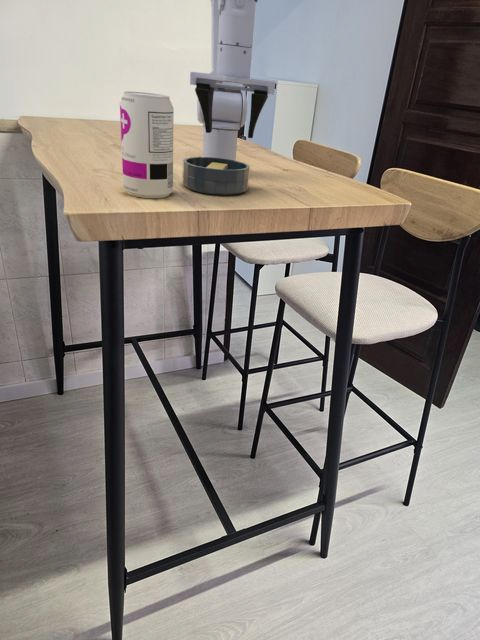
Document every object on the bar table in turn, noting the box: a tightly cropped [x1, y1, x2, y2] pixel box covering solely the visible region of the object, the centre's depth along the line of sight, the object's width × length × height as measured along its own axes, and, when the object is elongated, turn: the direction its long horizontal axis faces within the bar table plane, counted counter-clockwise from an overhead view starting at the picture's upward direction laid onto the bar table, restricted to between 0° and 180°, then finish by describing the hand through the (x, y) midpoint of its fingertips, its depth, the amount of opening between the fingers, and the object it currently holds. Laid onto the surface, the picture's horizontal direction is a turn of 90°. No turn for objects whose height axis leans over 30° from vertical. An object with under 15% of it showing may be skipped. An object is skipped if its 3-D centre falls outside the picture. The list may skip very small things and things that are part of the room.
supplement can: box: [119, 90, 175, 199], centre depth 77 cm, size 8×8×15 cm
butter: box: [206, 162, 228, 170], centre depth 89 cm, size 7×3×4 cm, turn 173°
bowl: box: [181, 156, 251, 196], centre depth 89 cm, size 12×12×4 cm
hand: (229, 134), depth 86 cm, fingers open, 7 cm apart
